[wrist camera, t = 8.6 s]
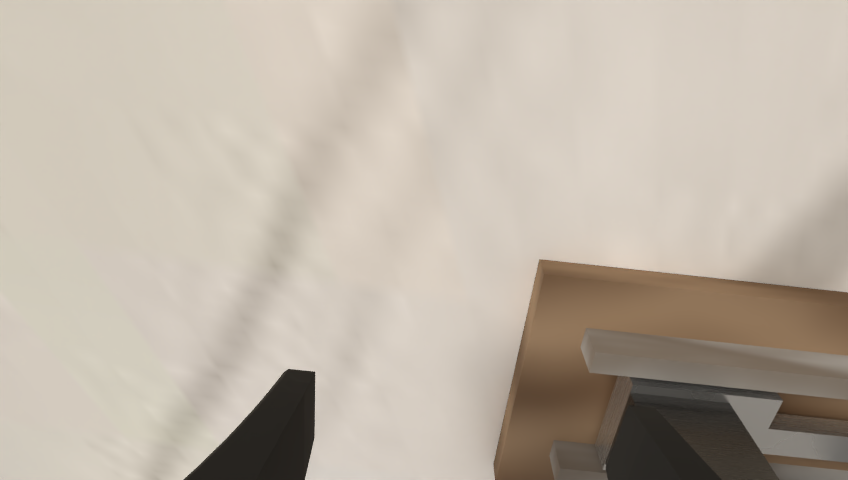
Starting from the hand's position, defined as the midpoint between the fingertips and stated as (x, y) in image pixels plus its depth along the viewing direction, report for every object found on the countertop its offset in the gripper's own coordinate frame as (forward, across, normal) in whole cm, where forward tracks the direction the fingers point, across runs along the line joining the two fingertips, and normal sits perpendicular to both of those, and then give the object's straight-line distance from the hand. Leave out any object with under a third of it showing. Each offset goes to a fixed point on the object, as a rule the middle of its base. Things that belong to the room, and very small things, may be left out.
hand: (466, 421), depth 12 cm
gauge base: (+10, -13, +7) cm, 18 cm away
